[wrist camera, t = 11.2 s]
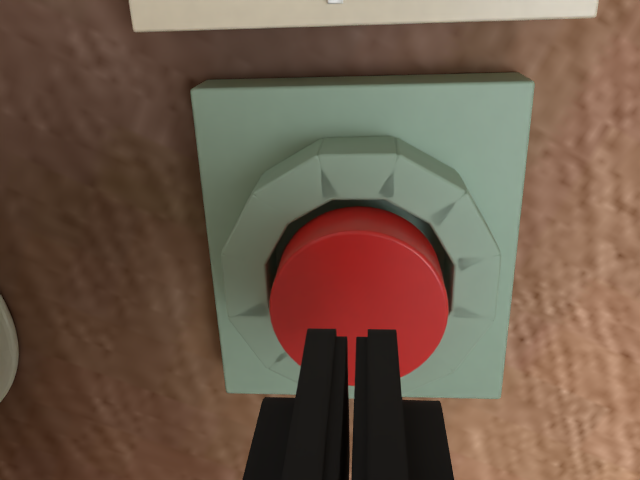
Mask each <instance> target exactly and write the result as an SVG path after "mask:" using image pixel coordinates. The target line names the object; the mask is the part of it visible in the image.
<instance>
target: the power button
mask: <svg viewBox="0 0 640 480" xmlns="http://www.w3.org/2000/svg"><path fill="white" fill-rule="evenodd" d="M269 312H270V319H271V323H272V327H273V330H274V332H275V335H276V337H277V339H278V341H279V342H280V344H281V346H282V347H283V349H284V350H285V351H286V353H287V354H288V355H289V356H290V357H291V358H292V359H293V360H294V361H295V362H296V363H297V364H298V365H300V366H301V362H302V356H303V350H304V345H305V339H306V333H307V329H308V328H317V329H336V332H337V336H347V341H348V385H349V386H355V360H356V337H368V329H396V331H397V343H398V355H399V368H400V378H401V377H403V376H405V375H407V374H409V373H411V372H412V371H414V370H415V369H417V368H418V367H419V366H421V365H422V364H423V363H424V362H425V361H426V360H427V359H428V358H429V357H430V356H431V355H432V353H433V352H434V351H435V349H436V348H437V346H438V345H439V343H440V341H441V339H442V337H443V335H444V332H445V329H446V325H447V321H448V314H449V308H448V297H447V292H446V288H445V284H444V280H443V276H442V272H441V268H440V264H439V261H438V258H437V255H436V253H435V251H434V249H433V247H432V245H431V244H430V242H429V241H428V239H427V238H426V237H425V235H424V234H423V233H422V232H421V231H420V230H419V229H418V228H417V227H415V226H414V225H413V224H412V223H411V222H409V221H407V220H406V219H404V218H402V217H401V216H399V215H396V214H394V213H392V212H389V211H386V210H383V209H379V208H373V207H364V206H354V207H344V208H339V209H335V210H332V211H328V212H325V213H323V214H321V215H319V216H317V217H315V218H314V219H312V220H310V221H309V222H307V223H306V224H305V225H304V226H303V227H301V228H300V229H299V230H298V231H297V232H296V233H295V235H294V236H293V237H292V238H291V240H290V241H289V243H288V244H287V246H286V248H285V250H284V252H283V254H282V257H281V260H280V263H279V267H278V270H277V273H276V276H275V279H274V282H273V285H272V289H271V293H270V300H269Z"/></svg>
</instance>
